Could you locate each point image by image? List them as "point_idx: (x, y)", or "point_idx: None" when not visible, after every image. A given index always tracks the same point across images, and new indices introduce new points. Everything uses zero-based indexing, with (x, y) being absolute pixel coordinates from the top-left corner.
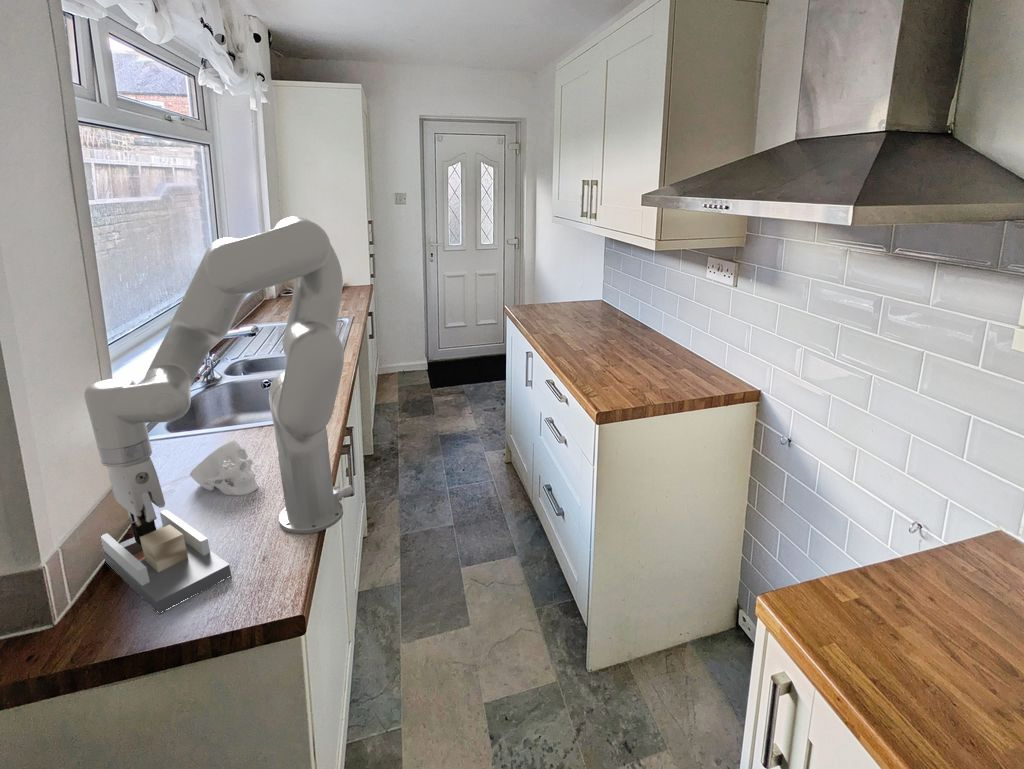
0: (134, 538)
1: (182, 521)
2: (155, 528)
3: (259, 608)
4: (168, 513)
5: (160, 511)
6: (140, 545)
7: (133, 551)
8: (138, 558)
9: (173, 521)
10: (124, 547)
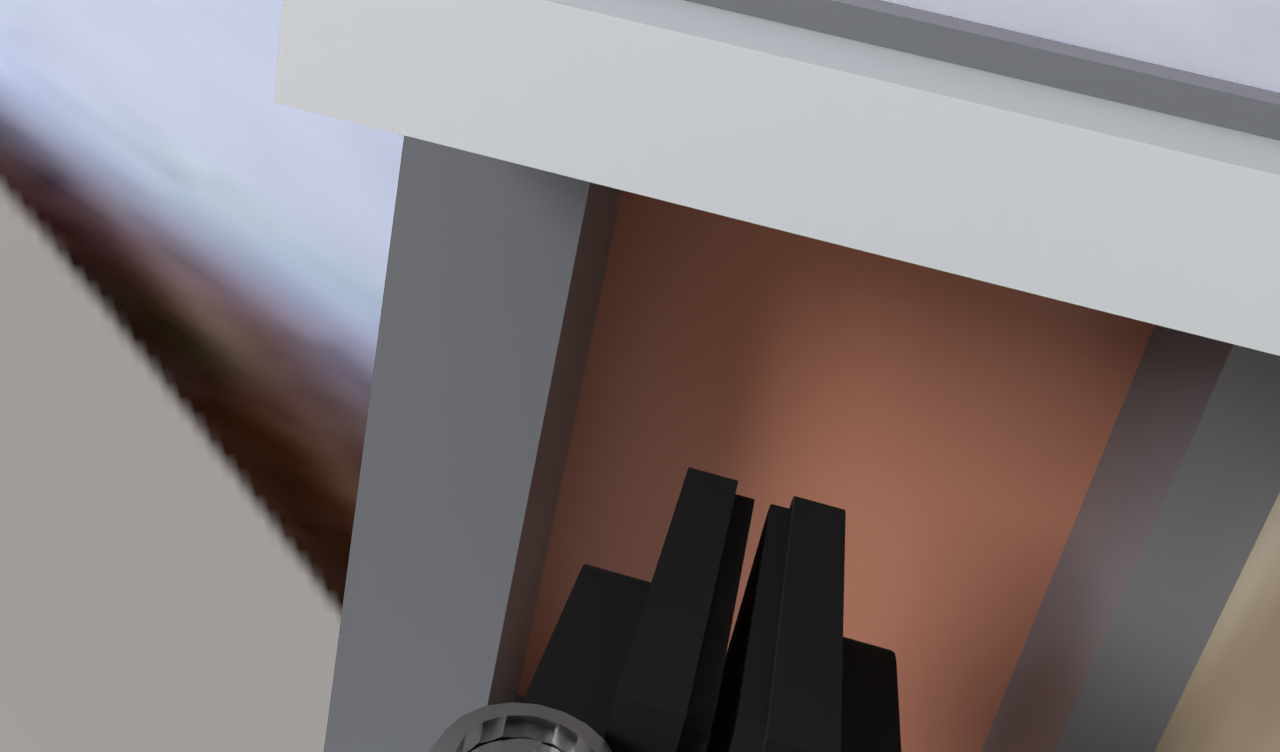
0: (394, 518)
1: (1236, 184)
2: (836, 605)
3: None
4: (542, 67)
5: (279, 83)
6: (540, 495)
7: (535, 561)
8: None
9: (992, 274)
10: None
